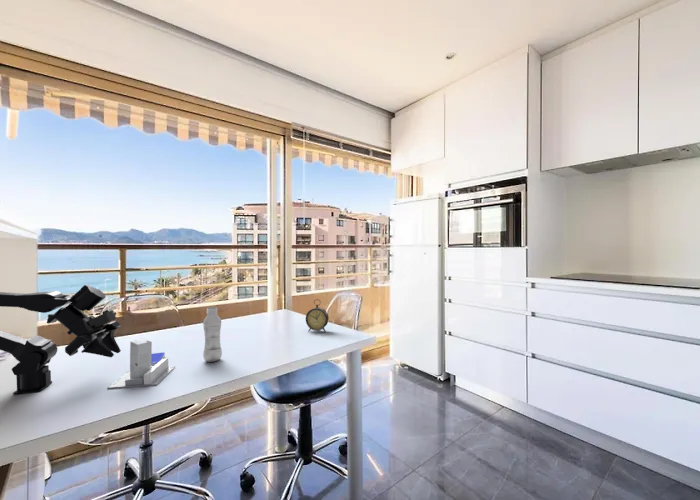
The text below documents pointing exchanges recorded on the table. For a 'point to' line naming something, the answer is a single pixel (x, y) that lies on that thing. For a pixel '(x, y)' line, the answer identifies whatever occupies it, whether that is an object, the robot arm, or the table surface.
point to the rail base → (127, 376)
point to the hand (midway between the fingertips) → (116, 354)
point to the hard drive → (156, 358)
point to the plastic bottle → (212, 335)
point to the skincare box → (140, 357)
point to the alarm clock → (317, 318)
